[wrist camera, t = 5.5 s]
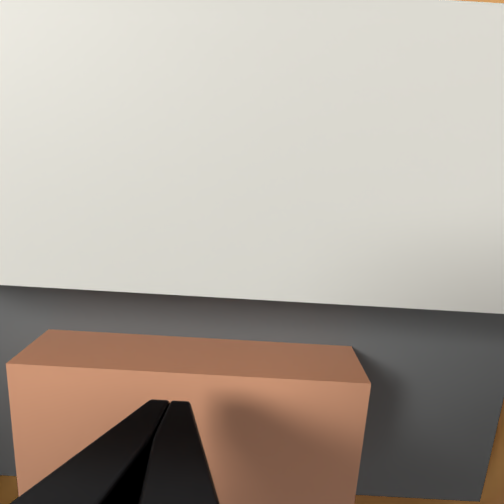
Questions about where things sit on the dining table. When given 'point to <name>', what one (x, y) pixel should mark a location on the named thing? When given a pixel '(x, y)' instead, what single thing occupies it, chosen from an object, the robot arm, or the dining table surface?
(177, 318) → the mat
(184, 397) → the pink rectangular block
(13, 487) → the dining table surface
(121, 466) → the robot arm
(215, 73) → the block
